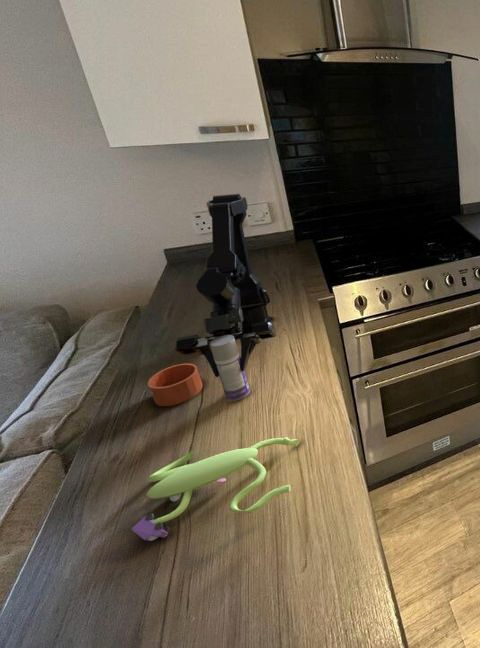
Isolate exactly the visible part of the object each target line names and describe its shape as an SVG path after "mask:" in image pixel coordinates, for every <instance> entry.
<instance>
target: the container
mask: <svg viewBox="0 0 480 648" xmlns="http://www.w3.org/2000/svg"><path fill="white" fill-rule="evenodd" d="M237 345H238V344H237V342H236V340H235V339H234V336H232V335H224V336H220V337H217V338H215V339H213V340H212V341H211V342H210V346H211V349H212V353H213V357H214V360H215V364H216V367H217V370H218V373H219V379H220V382H221V386H222V389H223V392H224V395H225V398H226V400H227V401H228V402H236V401H239V400H242V399H244V398H246V397H247V396H248V395H249V394H250V392H251V390H250V386H249V381H248V379H247V376H246V372H245V371H246V370H245V371H241V353H240V352H239V349H238V346H237Z"/></svg>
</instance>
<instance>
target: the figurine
mask: <svg viewBox="0 0 480 648" xmlns="http://www.w3.org/2000/svg"><path fill="white" fill-rule="evenodd" d="M300 442H301V440H299V438H295V439H293V438H292V439H291V438H290V437H288V436H285V437H276V438H275V437H273V438H268V439H265V440H261V441H259V442H257V443H254V444H253V445H251V446H249V447H244V448H239V449H238V448H237V449H233V450H228V451H225V452H222V453H218V454H215V455H212V456H210V457H207V458H204V459H201V460H198V461H196V462H194V463H188V464H185V463H187V462H188V461H190V460H192V459H193V458H194V457H195V455H194V454H195V453H193V450H190V452H188V453H187V454H185V455H184V456H182V457H180V458H179V459H176V460H175V461H172V463H169V464H167V465H166V466H164V467H162V468H160V469H159V470H156V471H155V472H153V473H152V474H151V475H150V476H149V477H148V478H147V481H148V482H149V483H155V482H157V483H155V484H154V485H152V486H151V487H150V488H149V490H148V491H147V493H146V496H147V498H148V499H156V500H160V499H164V498H165V499H166V498H169V500H170V501H171V502H173V503H176V502H177V501H179V500H180V499H181V498H182V499H181V501H180V503H179V505H178V506H177V507H176V509H174V510H173V511H171V512H170V513H168V514H165V515H163V516H161V517H158V516H155V514H154V513H148V514H146V515H144V516H143V517H142V518H141V519H140V520H139V521H138V522H137V523H136V524H135V525H134V526H133V527H131V531H133V532H134V533H135V534H137V536H139V537H140V538H141V539H143V540H144V541H148V542H153V541H155V540H156V539H158V538H163V539H164V538H166V537H167V536H168V535H169V534H170V533H169V532H170V526H164V523H166V522H168V521H171V520H173V519H176V518H177V517H178V516H180V515H181V514H182V513H184V512H185V510H186V509H187V508H188V506H189V504H190V501H191V499H192V496H193V492H194V491H195V490H197V489H200V488H203V487H205V486H208V485H210V484H213V483H215V482H217V483H218V482H219V483H224V482H226V481H227V478H226V477H228V476H229V475H232V474H233V473H235V472H237V471H238V470H240V469H242V468H244V467H245V466H249V467H250V468H252V469H253V470H255V472H257V474H258V475H257V477H256V479H255V480H254V481H252V483H250V484H249V485H247V486H246V487H244V488H243V489H241V491H239V492H238V493H237V494H236V495H235V496H234V497H233V498H232V499H231V501H230V502H229V510H230V511H232V512H233V513H244V514H245V513H246V514H251V513H254V512H256V511H258V510H259V509H261V508H263V507H264V506H265V505H266V504H267V503H268V502H269V501H271V500H272V499H274V498H275V497H278V496H280V495H283V494H286V493H290V492H291V490H292V487H291V486H292V485H291V484H286V485H282V486H279V487H276V488H274V489H272V490H270V491H269V492H267V493H266V494H264V495H263V496H262V497H261V498H259V500H258V501H257V502H255V503H254V504H253V505H251V506H250V507H249V508H246V509H244V510H242V509H239V507H238V505H239V504H240V502H241V501H242V500H243V498H245V497H246V496H247V495H248V494H249V493H251V492H252V491H254V490H255V489H257V488H258V487H259V486H260V485H261V484H262V483H263V481H264V480H265V478H266V474H267V470H266V467H264V466H263V464H262V463H260V462H259V461H258V460H256V459H255V458H256V457H257V456H258V453H259V451H258V450H259V449H262V448H264V447H268V446H273V445H283V446H287V447H291V446H294V447H297V446H299V444H300ZM184 464H185V465H184ZM182 495H183V496H182Z"/></svg>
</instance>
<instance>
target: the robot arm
mask: <svg viewBox="0 0 480 648" xmlns="http://www.w3.org/2000/svg"><path fill="white" fill-rule="evenodd" d="M206 207H207V211H208V215H209V216H210V218H211V237H212V238H211V240H212V241H211V242H212V245H211V246H212V251H211V253H210V254H209V255H208V256H207V257H206V260H205V268H203V271H202V274H201V277H199V279H198V280H197V283H196V290H197V291H198V293H199V294H200V295H202V297H204V298H205V299H206V300H207V301H208V302H209V303H211V311H210V317H207V318H206V317H205V318H203V323H204V324H203V325H204V331H205V333H206V334H209V335H210V336H205V337H201V336H199V335H198V334H190V335H186V336H182V337H178V338H177V339H176V340H175V341H174V344H173V345H174V351H176V352H178V353H179V354H181V355H184V356H188V355H192V354H200V355H201V356H204V358H205V359H206V360H207V363H208V364H209V366H210V368H211V370H212V373H213V374H214V377H215V378H220V376H219V373H218V370H217V367H216V364H215V360H214V357H213V353H212V349H211V346H210V342H211V341H212V340H213V339H215V338H217V337H220V336H224V335H232V336H234V339H235V341H236V340H237V341H238V340H240V358H241V371H246V368H247V365H248V363H249V360H250V357H251V355H252V353H253V351H254V350H255V347H256V346H257V345H260V344H261V340H267V339H272V338H276V337H277V329H276V326H275V325H274V324H273V323H272V322H271V321H272V320H273V319H274V318H273V316H269V314H268V310H267V306H268V304H269V303H271V299H270V295H269V293H268V291H267V290H266V289H265V287H264V286H262V284H261V281H260V279H259V278H258V277H257V276H256V275H255V274H253V271H252V267H251V266H252V265H251V262H250V256H249V251H248V246H247V243H246V242H247V241H246V238H245V233H244V232H245V231H244V227H243V223H244V222H245V219H246V217H247V216H248V215H247V210H248V202H247V199H246V197H245V196H243V197H242V196H241V194H240V193H231V194H219V195H213V196H212V199H209V200H207V201H206ZM260 339H261V340H260Z"/></svg>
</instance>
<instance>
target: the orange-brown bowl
mask: <svg viewBox="0 0 480 648" xmlns="http://www.w3.org/2000/svg"><path fill="white" fill-rule="evenodd" d="M147 387H148V390H149V392H150V395H151V398H152V400H153V402H154V404H155V405H157V406H160V407H171V406H175V405H179V404H182V403H184V402H187V401H189V400H190V399H192V398H194V397H195V396H197V395H198V394H200V392H201V391H202V389H203V387H204V383H203V380H202V376H201V373H200V370H199V368H198V366H197V365H196V364H193V363H180V364H175V365H171V366H169V367H166V368H164V369H161V370H160V371H158V372H157V373H155V374H154V375H152V376H150V378H149V380H148V381H147Z"/></svg>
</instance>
